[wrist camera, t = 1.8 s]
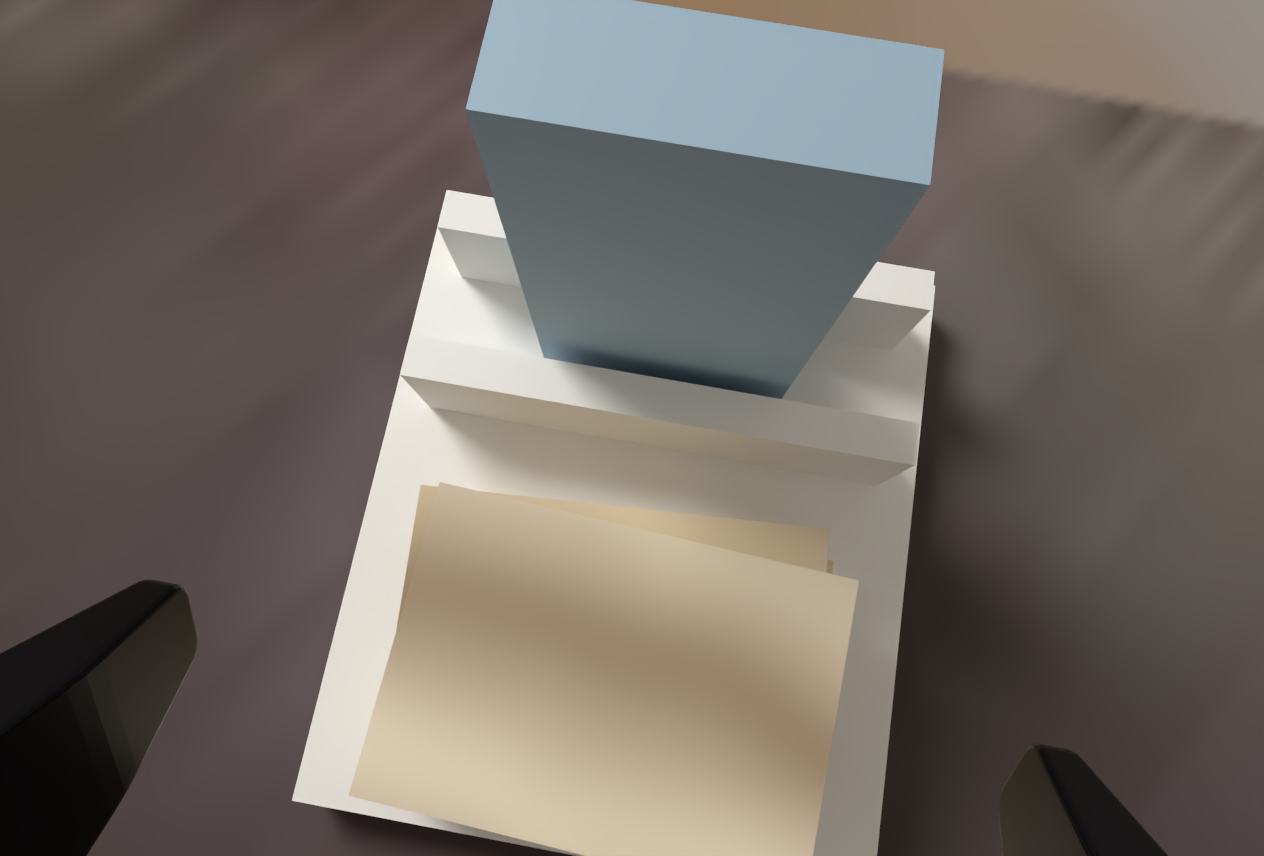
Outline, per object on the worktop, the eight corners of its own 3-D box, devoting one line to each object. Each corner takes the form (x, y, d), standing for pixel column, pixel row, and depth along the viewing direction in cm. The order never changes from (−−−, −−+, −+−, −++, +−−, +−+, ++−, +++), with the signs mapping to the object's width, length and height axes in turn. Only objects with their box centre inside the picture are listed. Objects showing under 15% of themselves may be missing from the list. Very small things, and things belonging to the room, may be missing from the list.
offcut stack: (783, 850, 20) (828, 915, 15) (386, 774, 20) (318, 816, 16) (821, 545, 21) (872, 526, 17) (454, 479, 22) (410, 443, 17)
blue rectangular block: (770, 415, 22) (929, 184, 10) (550, 377, 22) (465, 109, 11) (780, 345, 23) (944, 49, 11) (564, 308, 23) (498, -21, 11)
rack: (854, 892, 21) (914, 965, 16) (314, 788, 21) (234, 831, 17) (916, 305, 24) (980, 237, 20) (454, 228, 25) (417, 143, 21)
